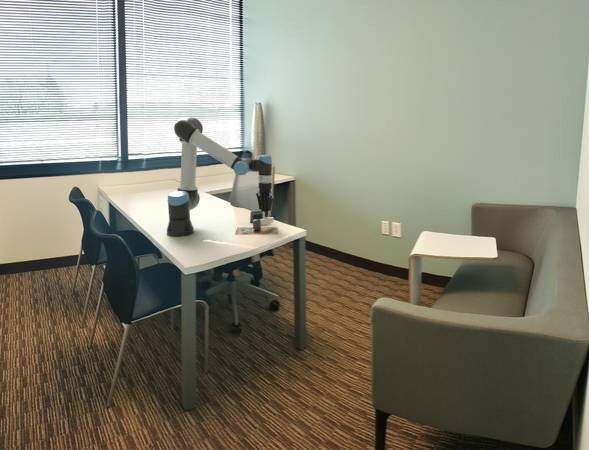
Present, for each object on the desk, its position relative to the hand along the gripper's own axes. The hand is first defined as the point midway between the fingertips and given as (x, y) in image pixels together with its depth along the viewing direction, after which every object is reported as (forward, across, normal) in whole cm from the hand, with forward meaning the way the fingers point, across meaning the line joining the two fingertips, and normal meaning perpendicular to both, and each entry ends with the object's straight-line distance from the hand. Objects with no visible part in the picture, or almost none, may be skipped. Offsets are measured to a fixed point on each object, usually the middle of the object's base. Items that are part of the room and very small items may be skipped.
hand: (265, 222), depth 285 cm
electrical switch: (+5, -13, +7) cm, 15 cm away
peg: (+3, +1, -6) cm, 7 cm away
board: (+5, +1, -8) cm, 9 cm away
